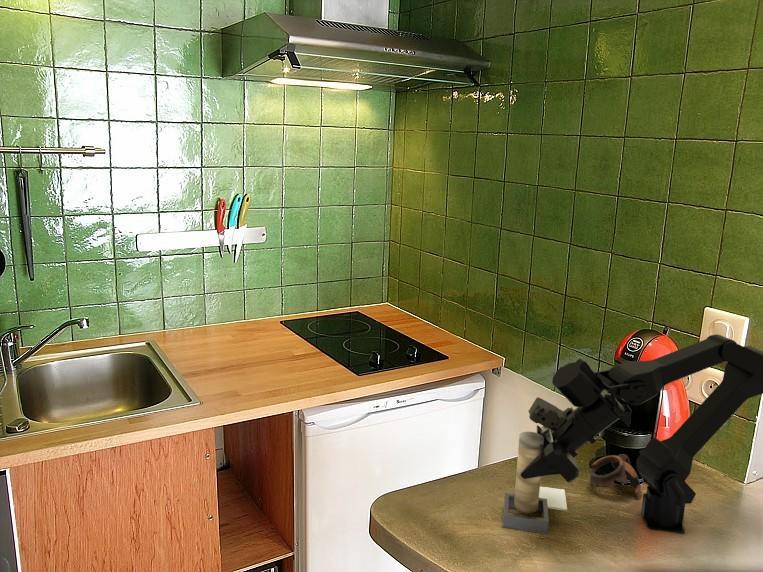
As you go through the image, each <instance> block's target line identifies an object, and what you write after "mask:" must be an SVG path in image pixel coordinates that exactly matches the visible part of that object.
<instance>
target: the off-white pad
mask: <svg viewBox="0 0 763 572" xmlns="http://www.w3.org/2000/svg"><path fill="white" fill-rule="evenodd" d="M565 490H566V489H562V488H554V487H547V486H541V485H540V491H539V498H544V499H547V505H548V510H549V509H550V510H556V511H557V510H558V511H565V512H568V505H567V498H566V491H565Z"/></svg>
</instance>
